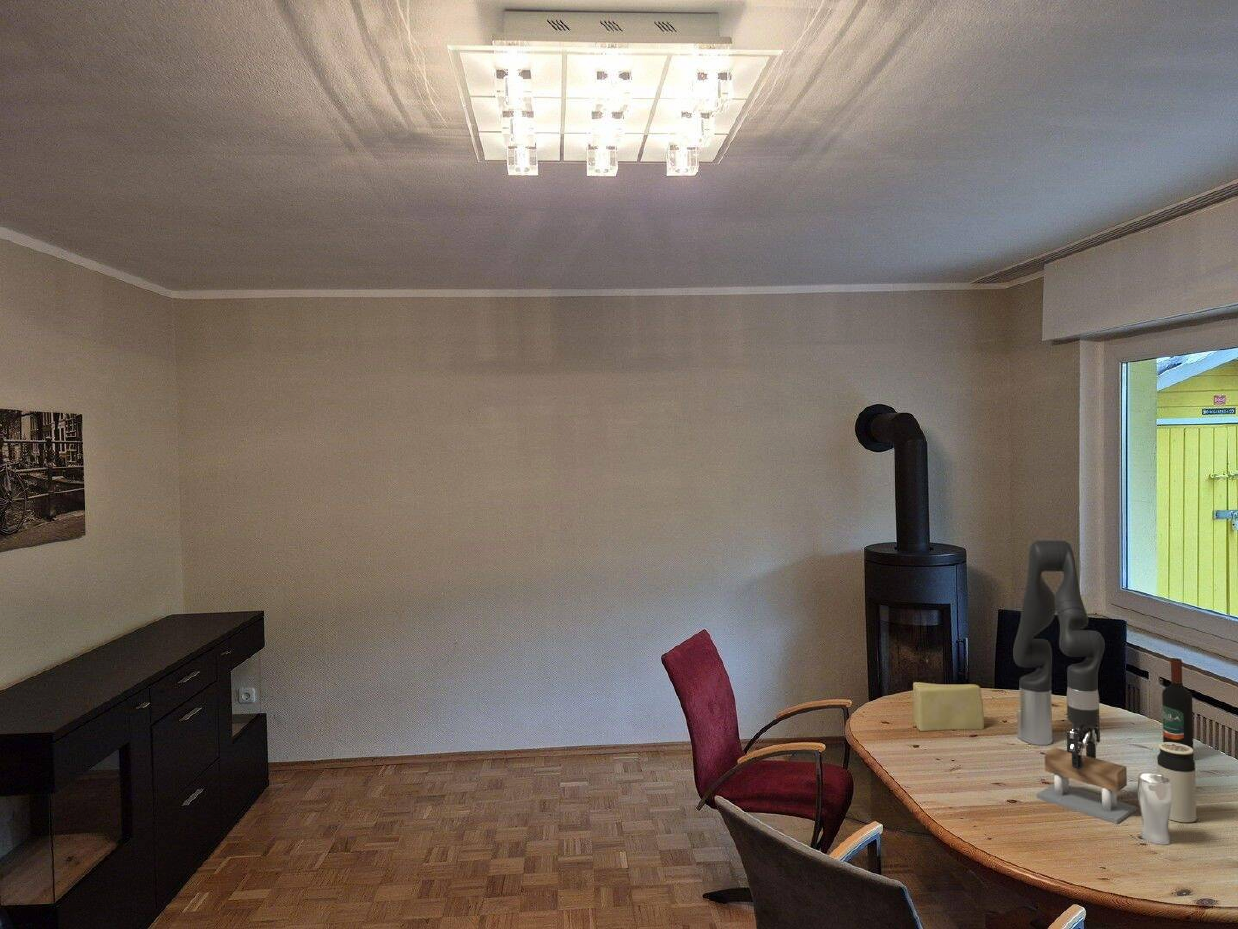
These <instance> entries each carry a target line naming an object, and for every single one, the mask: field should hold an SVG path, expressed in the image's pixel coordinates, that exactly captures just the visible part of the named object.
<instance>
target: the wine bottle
mask: <svg viewBox="0 0 1238 929" xmlns="http://www.w3.org/2000/svg"><path fill="white" fill-rule="evenodd" d="M1170 679H1171V680H1170V684H1169V685H1168V686H1166V687H1165V688H1163V690H1162V694H1161V703H1162V704H1161V705H1162V710H1161V711H1162V743H1163V742H1173V743H1179V744H1183V745H1186V746H1189V747H1191V748H1192V749H1193V750H1194V718H1193V715H1194V712H1193V709H1194V708H1193V695H1192V693H1191V692H1190V690H1188V689H1187V688H1186V687H1184V685H1183V660H1182V659H1181V658H1176V657H1174V658H1173V657H1172V658H1170ZM1194 754H1195V752H1193V753H1192V758H1194V757H1195V756H1194Z"/></svg>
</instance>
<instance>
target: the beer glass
mask: <svg viewBox="0 0 1238 929" xmlns="http://www.w3.org/2000/svg"><path fill="white" fill-rule="evenodd" d="M1137 777H1138V779H1137V799H1138V800H1137V801H1138V806H1139V810H1140V814H1141V820H1142V821H1141V822H1142V825H1141V830H1140V837H1141V838H1142V839H1143V840H1145V841H1147V842H1148V843H1151V844H1154V845H1161V846H1166V845H1169V844H1171V842H1172V841H1171V834H1170V831H1169V824H1170V819H1169V818H1170V813H1171V808H1172V790H1171V781H1170V779H1169V778H1167V777H1165V776H1163V775H1159V774H1158V773H1153V772H1141V773H1139V774H1138V775H1137Z"/></svg>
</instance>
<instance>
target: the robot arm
mask: <svg viewBox="0 0 1238 929" xmlns="http://www.w3.org/2000/svg"><path fill="white" fill-rule="evenodd" d="M1028 552H1029V553H1028V565H1027V566H1028V568H1027V579H1026V586H1025V590H1024V595H1023V599H1022V605H1021V613H1020V619H1019V621H1020V622H1019V626H1018V629H1017V633H1016V635H1015V636H1016V637H1015V640H1014V644H1013V649H1012V656H1013V658H1012V659H1013V660H1014V663H1015V665H1017V666H1018V667H1021V668H1033V669H1035V668H1036V670H1035V671H1033V672H1031V673H1029V674H1025V675H1023V676H1021V677H1020V678H1019V680H1018V681H1019V682H1018V683H1019V708H1018V709H1017V714H1016V715H1017V739H1018V740H1021V741H1024V742H1025V743H1029V744H1032V745H1036V746H1037V745H1038V746H1046V745H1051V744H1053V714H1052V713H1053V712H1052V711H1053V710H1052V709H1053V708H1052V702H1053V701H1052V664H1053V662H1052V661H1053V652H1052V651H1053V649H1052V646H1051V643H1050V642H1049V640H1047V639H1043V638H1035V637H1036V636H1037V635H1038V634H1040V633H1041V632H1042V631H1044V630H1045V629H1046V628H1047V627H1048V626H1049V625H1050V624H1052V622H1053V621H1054V618H1055V614H1057V618H1058V621H1059V639H1058V644H1059V649H1060V651H1061V652H1062V653H1063V655H1065V656H1066V657H1067V656H1068V657H1071V658H1085V659H1084V660H1083V661H1082V662H1078V663H1072V664H1070V665H1068V667H1067V669H1066V670H1067V671H1066V673H1067V674H1066V675H1067V676H1066V677H1067V690H1066V718H1067V720H1068V721H1069V722H1070V723H1072V725H1073V727H1072V730H1070V729H1067V731H1066V751H1067V752H1068V753H1072V767H1074V768H1077V769H1081V768H1082V755H1083V754H1082V753H1083V751H1084V750H1083V749H1085V756H1089V757H1092V758H1096V759H1097V747H1098V744H1099V743H1100V742H1101V733H1100V732H1101V730H1100V729H1101V728H1100V727H1101V726H1100V696H1099V695H1100V694H1099V690H1098V689H1099V688H1098V685H1099V684H1098V683H1099V682H1098V677H1099V676H1098V673H1099V668H1100V664H1101V661H1102V659H1103V655H1104V652H1105V647H1106V644H1105V639H1104V636H1102V634H1101V633H1100V632H1099V631H1097V630H1085V629H1084V628H1086V627H1088V624H1089V617H1088V613H1087V612H1086V608H1085V605H1084V603H1083V600H1082V596H1081V592H1080V584H1079V577H1078V572H1077V566H1076V559H1075V555H1074V551H1073V548H1072V546H1071V544H1070V543H1069V542H1068V541H1066V540H1053V539H1052V540H1045V539H1044V540H1035V541H1033V542H1032V543H1031V545H1030V548H1029V551H1028ZM1043 572H1062V573H1063V580H1062V582H1061V584H1060V586H1059V587H1058V589H1057V591H1056V593H1055V594H1054V592H1053V590H1052V589H1051V588H1050V587H1049V586H1048V584H1047V583H1046V582H1045V580H1044V578H1043V576H1042V573H1043ZM1083 629H1084V630H1083Z"/></svg>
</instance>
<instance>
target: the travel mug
mask: <svg viewBox="0 0 1238 929" xmlns="http://www.w3.org/2000/svg"><path fill="white" fill-rule="evenodd" d="M1157 747H1158V748H1159V753H1158V755H1157V758H1156V759H1157V765H1156V766H1157V774H1159V775H1163V776H1165V777H1167V778H1169V779H1170V781H1171V790H1172V808H1171V813H1170V818H1169V821H1170V820H1171V821H1173V822H1177V823H1193V822H1195V821H1196V820H1197V793H1196V792H1197V789H1196V787H1197V785H1196V783H1197V782H1196V762H1195V760H1193V758H1192V753H1193V752H1194V748H1193V749H1192V748H1191V747H1189V746H1186V745H1183V744H1179V743H1173V742H1163V741H1162V742H1159V743H1158V745H1157ZM1194 753H1195V752H1194Z"/></svg>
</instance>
